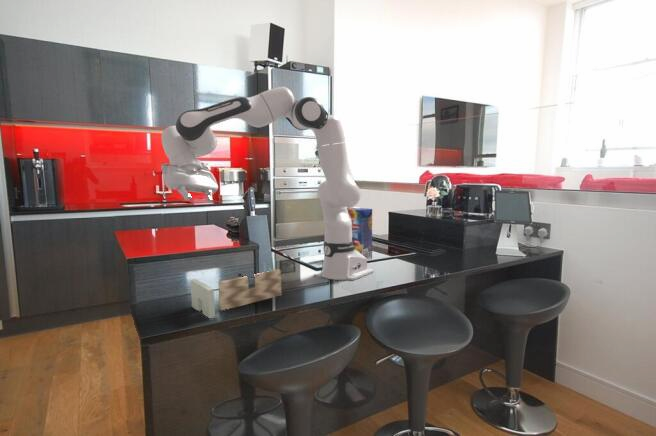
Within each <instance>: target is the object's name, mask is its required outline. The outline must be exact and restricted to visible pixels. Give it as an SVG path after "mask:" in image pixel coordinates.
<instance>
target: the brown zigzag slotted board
mask: <svg viewBox="0 0 656 436" xmlns="http://www.w3.org/2000/svg"><path fill="white" fill-rule="evenodd" d="M270 270H271V269H270ZM281 272H282V270H281V269H280V268H277V269H273V270H271V271H267V272H262V273H257V274H254V277H255V278H254V287H249V279H248V277H247V276H243V277H242V276H240V277H235V278H230V279H226V280H221V281H218V294H219V310H220V309H221V310H220V311H222V310H224V311H226V310H225V309H227V310H230V308H231V309H234V308H238V307H242V306H245V305H249V304H252V303H257V302H260V301H264V300H268V299H272V298H275V297H279V296H282V273H281Z"/></svg>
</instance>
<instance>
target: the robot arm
mask: <svg viewBox="0 0 656 436" xmlns="http://www.w3.org/2000/svg"><path fill="white" fill-rule="evenodd" d="M283 118H285V119H286V120H287V121H288V122H289V123H290V124H291V125H292V127H294V128H295V129H296V130H299V131H306V130H311V131H312V132H313V134H314V136H315V139H316V140H315V141H316V146H317V148H316V149H317V156H318V161H319V162H318V163H319V167H320V169H321V170H322V172H323V175H324V178H325V180H324V181H323V182H321V183H320V184H319V185H318V188H317V191H316V192H317V196H318V198H319V202H320V208H321V212H322V217H323V223H324V225H323V226H324V228H323V229H324V241H323V254H324V255H323V264H322V270H321V273H320V276H321V277H322V278H324V279H329V280H338V281H339V280H346V281H348V280H350V281H355V280H357V279H359V278H363V277H365V276H367V275H369V274H372V273H373V272H374V269H372V268H371V267H370V266H368V260H366V258H365V257H364V256H363V255H362V254H360V253H359V252H358V251H357V250H355V246H359V245H360V242H359V241H354V242H353V241H352V222H351V219H350V217H349V214H348V211H347V208H352V207H355V206H357V204H358V203H359V202H360V199H361V197H362V195H361V190H360V188H359V186H358V184H356V182H355V179H354V177H353V176H354V175H353V174H352V171H351V168H350V164H349V160H348V154H347V153H348V152H347V148H346V147H347V146H346V145H347V144H346V139H345V138H346V137H345V134H344V130H343V129H344V128H343V126H342V122H341V120H340V118H339V117H338V116H337V115H334V114H329V113H328V112H327V110H326V109H325V107H324V105H323V104H322V103H321V101H319V100H318V99H317V98H315V97H313V96H312V97H311V96H307V97H302V98H301V99H297V98H296V97H294V94H293V92H292V91H291V89H289V88H288V87H286V86H279V87H277V86H276V87H274V88H271V89H268V90H265V91H262V92H260V93H258V94H256V95H253V96H250V97H243V96H239V97H234V98H230V99H228V100H224V101H221V102H218V103H214V104H212V105H209V106H206V107H203V108H195V109H189V110H186V111H184V112H182V113H181V114H180V115H179V116H178V118H177V119H176V122H175V125H170V126H168V127H166V128H165V129H164V130H163V132H162V133H161V135H160V136H161V137H160V138H161V139H160V140H161V144H162V147H163V150H164V153H165V154H164V155H165V156H166V157H167V158H168V160H169V163H166V162H165V163H163V164H161V166H160V169H161V171H162V176H163V182H164V184H165V187H166V188H168V189H170V190H177V192H178V193H179V194H180V196H182V197H183V198H184V201H190V200H191V199H192V196H191V194H190V193H188V192H192V193H199V194H204V195H205V196H206V197H205V200H206V203H208V204H209V203H210V204H212V203H213V201H214V199H213V195H214V194H215V193H216V192H217V191H218V190H219V185H218V182H217V179H216V177H215V176H214V174H213V173H212V172H211V167H210V165H208V164H207V163H204V162H203V161H201V160H200V159H198V158H201V157H203V156H204V157H205V156H206V155H209V154H211V153H213V152H214V151H215V149H216V148H217V146H218V144H217V143H218V141H217V137H216V136H215V133H214V131H212V128H211V127H212V126H214V125H217V124H220V123H223V122H226V121H229V120H233V119H239V120H241V121H244V123H246V124H247V125H249V126H250V127H255V128H263V127H267V126H268V125H270V124H273V123H274V122H276V121H278V120H280V119H283Z"/></svg>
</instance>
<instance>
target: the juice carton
mask: <svg viewBox="0 0 656 436" xmlns="http://www.w3.org/2000/svg"><path fill="white" fill-rule="evenodd" d="M347 211H348V214H349V217H350V219H351V222H352V241H353V242H354V241H359V242H360V245H359V246H355V250H357V251H358V252H359V253H360V254H362V255H363V256H364V257H365V258H366V260H367V259H368V260H372V259H373V208H367V207H357V206H356V207H355V206H353V207H350V208H347ZM368 260H367V261H368Z"/></svg>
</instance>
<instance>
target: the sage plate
mask: <svg viewBox="0 0 656 436" xmlns="http://www.w3.org/2000/svg"><path fill="white" fill-rule="evenodd" d="M189 281H190V294H191V295H190V297H191V299H190V300H191V307H192V308H193V309H194V310H196V311H197V310H198V311H199V312H202V315H203V314H204V315H205V316H207V317H208V318H214V317H215V318H216V309H215V306H216V305H215V293H214V292H215V291H214V290H215V289H214V288H213V287H211V286H208V285H207V284H205V283H204V282H202V281H200V280H198V279H197V278H193V279H190V280H189ZM201 310H202V311H201ZM198 311H197V312H198ZM204 315H203V316H204ZM205 316H204V317H205ZM207 317H206V318H207ZM208 318H207V319H208Z"/></svg>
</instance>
